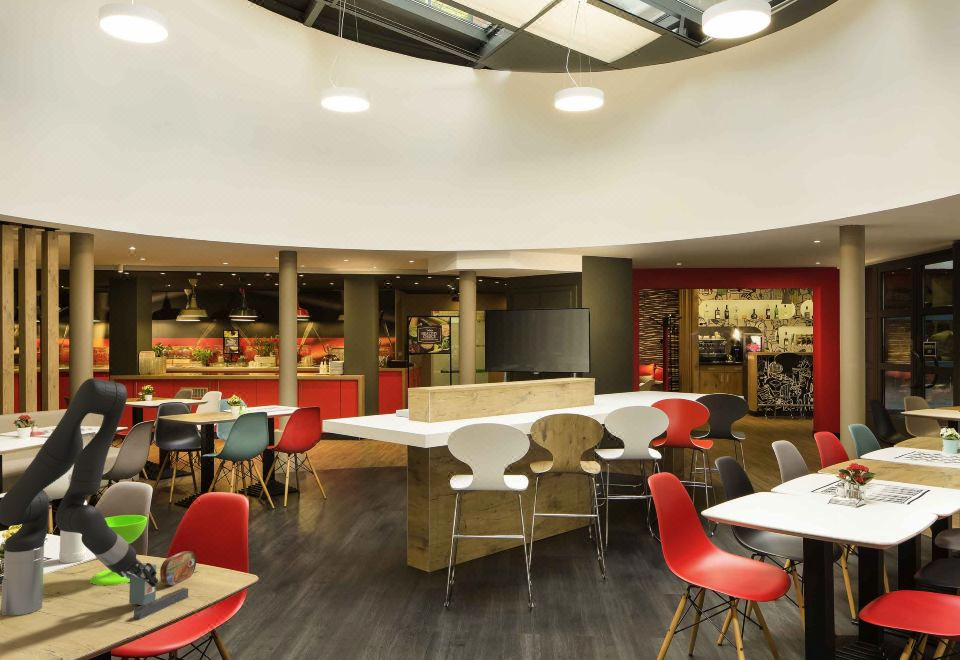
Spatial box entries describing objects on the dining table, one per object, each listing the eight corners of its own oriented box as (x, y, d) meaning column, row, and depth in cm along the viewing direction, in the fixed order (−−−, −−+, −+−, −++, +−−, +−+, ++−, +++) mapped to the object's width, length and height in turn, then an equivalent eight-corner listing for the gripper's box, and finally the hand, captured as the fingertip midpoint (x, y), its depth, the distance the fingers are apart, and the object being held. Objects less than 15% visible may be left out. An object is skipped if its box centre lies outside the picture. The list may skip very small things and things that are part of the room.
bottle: (83, 555, 241) (85, 470, 242) (87, 560, 235) (89, 473, 236) (57, 559, 236) (59, 473, 237) (60, 564, 230) (63, 476, 231)
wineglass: (107, 589, 206) (109, 529, 207) (79, 580, 214) (80, 522, 215) (156, 574, 220) (157, 519, 220) (128, 566, 228) (129, 513, 229)
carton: (129, 603, 192) (130, 567, 192) (141, 597, 196) (142, 562, 197) (143, 605, 190) (144, 569, 191) (155, 599, 195) (156, 564, 195)
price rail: (139, 619, 182) (139, 610, 182) (131, 618, 183) (132, 608, 183) (188, 597, 199) (188, 588, 199) (180, 596, 200) (181, 587, 200)
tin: (166, 589, 206) (167, 561, 207) (157, 588, 207) (158, 560, 207) (196, 574, 221) (197, 547, 221) (188, 573, 222) (188, 547, 222)
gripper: (143, 542, 185) (174, 573, 196) (102, 537, 189) (135, 568, 200) (126, 567, 179) (160, 598, 190) (85, 562, 184) (120, 592, 195)
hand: (147, 582), depth 195 cm, fingers closed on carton, 5 cm apart
